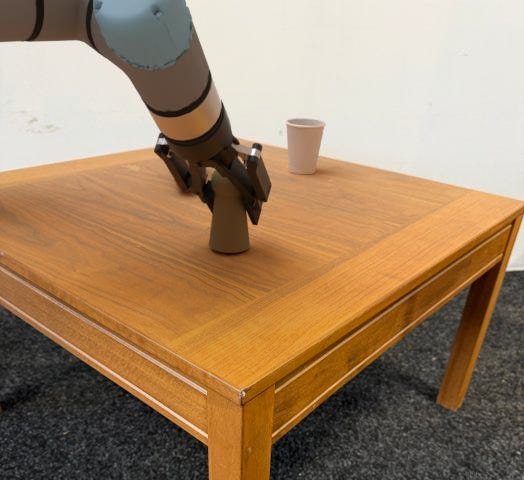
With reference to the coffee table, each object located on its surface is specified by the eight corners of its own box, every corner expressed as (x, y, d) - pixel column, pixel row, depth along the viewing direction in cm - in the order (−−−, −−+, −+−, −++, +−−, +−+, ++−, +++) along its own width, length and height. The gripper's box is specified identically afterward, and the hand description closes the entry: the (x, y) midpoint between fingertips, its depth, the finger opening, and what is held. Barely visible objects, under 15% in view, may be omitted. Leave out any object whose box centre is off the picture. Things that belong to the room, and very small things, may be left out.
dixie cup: (302, 178, 114) (306, 127, 109) (274, 169, 119) (277, 120, 114) (329, 172, 119) (334, 123, 113) (301, 164, 124) (305, 116, 119)
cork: (200, 246, 80) (198, 169, 74) (224, 234, 84) (224, 160, 78) (234, 256, 77) (236, 177, 71) (257, 243, 81) (260, 167, 76)
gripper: (278, 90, 58) (303, 199, 80) (124, 76, 62) (188, 183, 85) (261, 152, 57) (291, 246, 79) (105, 134, 61) (175, 228, 83)
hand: (238, 213), depth 82 cm, fingers closed on cork, 5 cm apart
